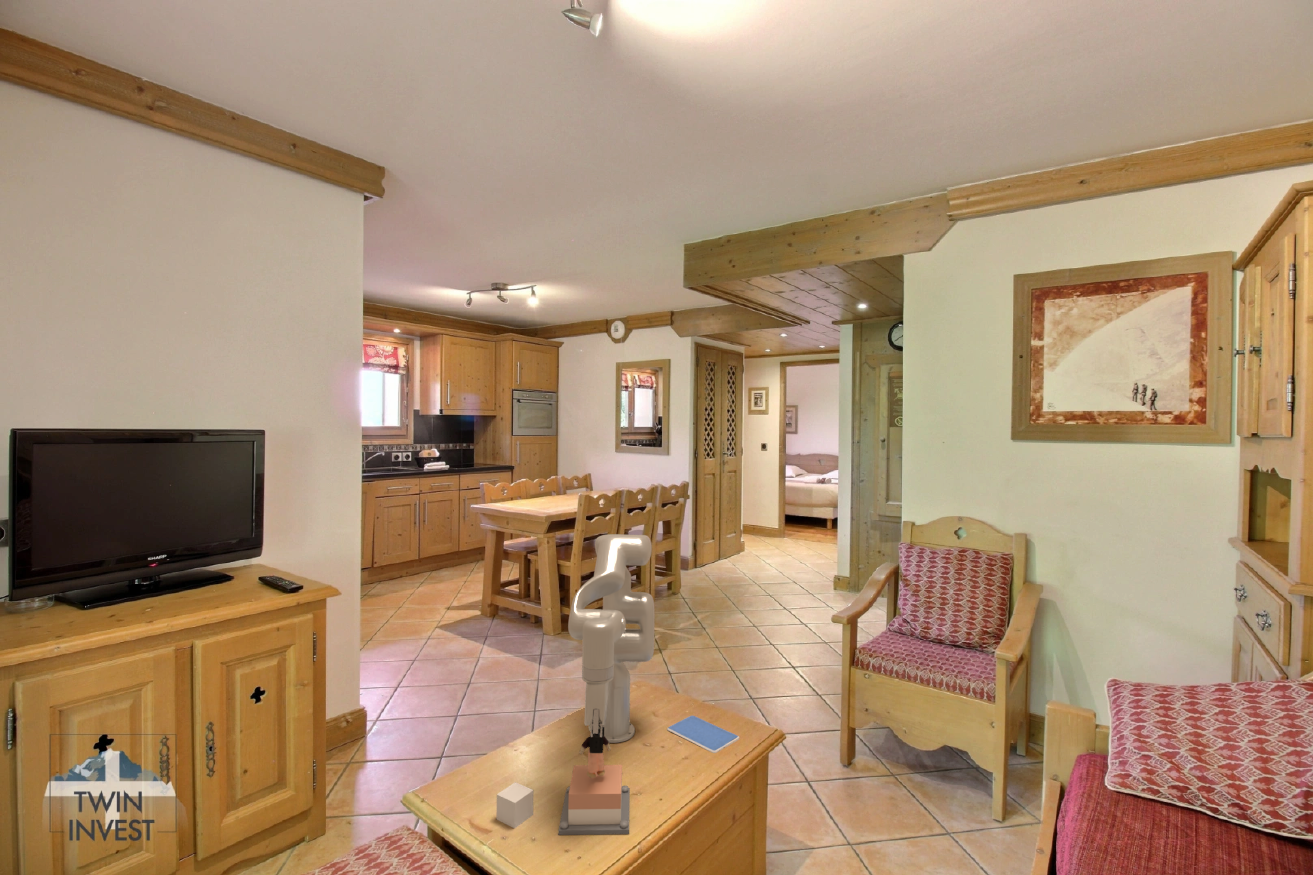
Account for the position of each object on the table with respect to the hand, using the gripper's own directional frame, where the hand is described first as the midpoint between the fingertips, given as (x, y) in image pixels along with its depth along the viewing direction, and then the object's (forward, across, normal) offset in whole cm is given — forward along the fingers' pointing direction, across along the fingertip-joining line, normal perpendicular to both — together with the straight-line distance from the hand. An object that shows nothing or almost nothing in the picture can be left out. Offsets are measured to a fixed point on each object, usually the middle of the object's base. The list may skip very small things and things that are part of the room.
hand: (596, 747), depth 142 cm
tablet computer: (+16, -37, +30) cm, 50 cm away
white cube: (+16, +1, -19) cm, 25 cm away
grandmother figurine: (+6, 0, -1) cm, 6 cm away
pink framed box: (+16, 0, 0) cm, 16 cm away
